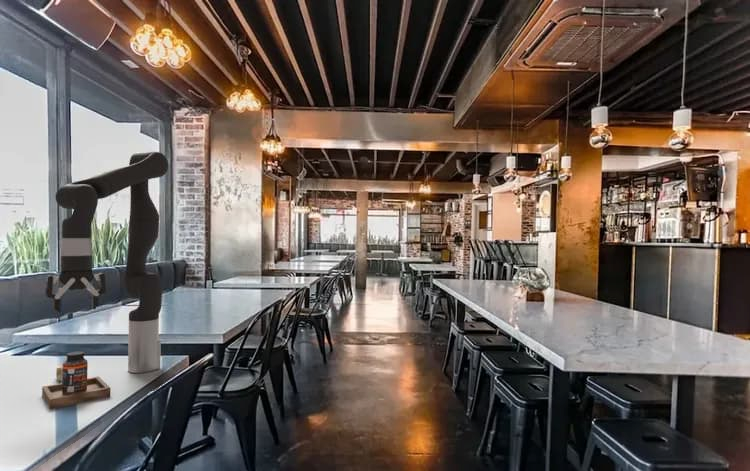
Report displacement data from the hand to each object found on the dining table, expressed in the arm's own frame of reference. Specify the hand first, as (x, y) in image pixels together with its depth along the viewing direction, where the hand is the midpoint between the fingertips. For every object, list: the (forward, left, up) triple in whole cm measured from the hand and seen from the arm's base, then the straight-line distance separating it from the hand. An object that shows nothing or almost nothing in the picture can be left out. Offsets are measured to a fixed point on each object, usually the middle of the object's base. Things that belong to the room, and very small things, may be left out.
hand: (76, 310), depth 128 cm
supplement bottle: (0, +1, -23) cm, 23 cm away
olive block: (-1, -14, -20) cm, 25 cm away
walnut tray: (0, +1, -24) cm, 24 cm away
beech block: (-1, -21, -24) cm, 32 cm away
